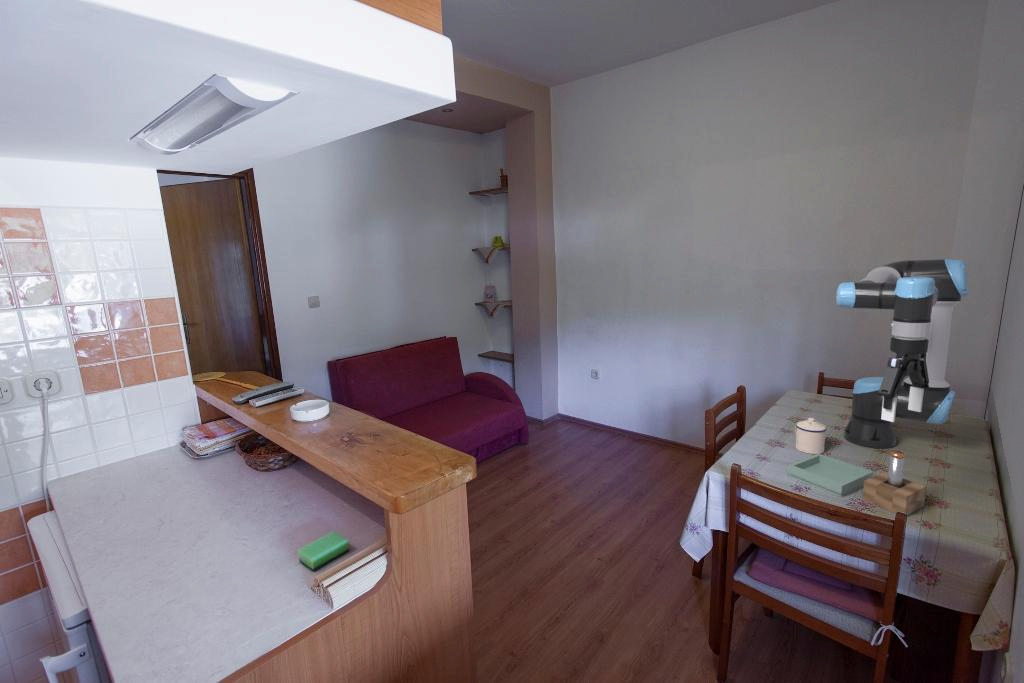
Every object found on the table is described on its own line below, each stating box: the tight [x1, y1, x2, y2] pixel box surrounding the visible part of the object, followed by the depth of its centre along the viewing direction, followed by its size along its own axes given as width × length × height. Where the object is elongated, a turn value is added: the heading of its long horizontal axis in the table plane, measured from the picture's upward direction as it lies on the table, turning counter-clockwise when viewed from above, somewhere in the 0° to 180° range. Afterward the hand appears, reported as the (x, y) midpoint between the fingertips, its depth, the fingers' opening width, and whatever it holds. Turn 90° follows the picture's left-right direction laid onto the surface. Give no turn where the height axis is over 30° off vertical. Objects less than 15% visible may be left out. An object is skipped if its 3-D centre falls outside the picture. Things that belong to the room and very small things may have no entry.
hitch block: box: [861, 471, 927, 517], centre depth 128 cm, size 10×10×6 cm
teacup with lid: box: [794, 417, 827, 455], centre depth 165 cm, size 12×9×12 cm
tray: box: [786, 453, 874, 498], centre depth 144 cm, size 16×16×4 cm
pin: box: [888, 450, 906, 488], centre depth 128 cm, size 3×3×15 cm
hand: (901, 415), depth 124 cm, fingers open, 13 cm apart
